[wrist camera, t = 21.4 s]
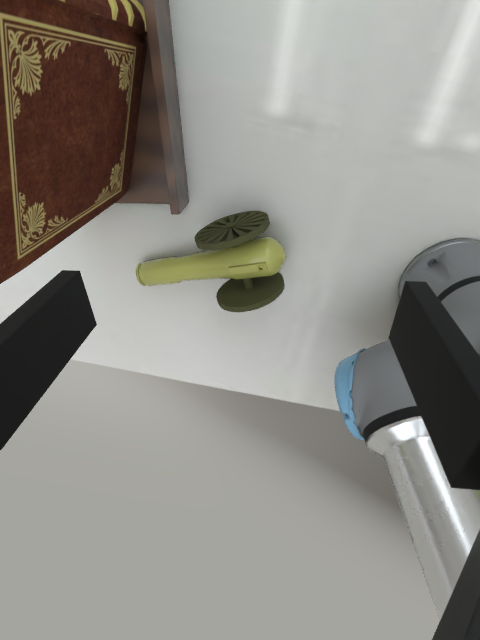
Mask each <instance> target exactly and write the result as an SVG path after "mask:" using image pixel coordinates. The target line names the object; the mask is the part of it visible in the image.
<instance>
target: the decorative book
mask: <svg viewBox="0 0 480 640" xmlns="http://www.w3.org/2000/svg"><path fill="white" fill-rule="evenodd" d="M146 34H147V28H146V20H145V13H144V7H143V6H142V5H141V3H140V2H138V1H137V0H0V284H1V283H2V282H4V281H6V280H7V279H9V278H10V277H12V276H13V275H15V274H16V273H18V272H20V271H21V270H23V269H24V268H25V267H27V266H28V265H30V264H31V263H32V262H34V261H35V260H37V259H38V258H39V257H41V256H42V255H43V254H45V253H46V252H48V251H49V250H50V249H52V248H53V247H55V246H56V245H57V244H59V243H60V242H61V241H63V240H64V239H66V238H67V237H68V236H70V235H71V234H72V233H74V232H75V231H77V230H78V229H79V228H81V227H82V226H84V225H85V224H86V223H88V222H89V221H90V220H92V219H93V218H95V217H96V216H97V215H99V214H100V213H101V212H103V211H104V210H106V209H107V208H108V207H110V206H111V205H113V204H114V203H115V202H117V201H118V200H119V199H120V198H122V197H123V196H124V195H125V194H126V193H127V192H128V188H129V183H130V177H131V171H132V164H133V156H134V148H135V139H136V131H137V123H138V114H139V106H140V98H141V89H142V81H143V72H144V64H145V56H146V47H147V44H146V42H145V40H144V37H145V35H146Z"/></svg>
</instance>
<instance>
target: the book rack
mask: <svg viewBox="0 0 480 640" xmlns="http://www.w3.org/2000/svg"><path fill="white" fill-rule="evenodd" d="M137 1H138V2H140V3H141V5H142V6H143V7H144V13H145V20H146V28H147V34H146V35H145V37H144V40H145V42H146V44H147V47H146V56H145V64H144V72H143V81H142V89H141V98H140V106H139V114H138V123H137V131H136V139H135V148H134V156H133V164H132V171H131V177H130V183H129V188H128V192H127V193H126V194H125V195H124V196H123V197H122V198H120V199H119V200H118V201H117V202H115V203H153V204H170V208H171V214H180V213H181V212H182V210H183V209H184V208H185V206H186V205H187V204H188V203H189V198H188V188H187V178H186V168H185V158H184V149H183V139H182V129H181V119H180V109H179V99H178V89H177V80H176V70H175V60H174V50H173V40H172V30H171V20H170V11H169V1H168V0H137Z"/></svg>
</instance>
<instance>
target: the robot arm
mask: <svg viewBox="0 0 480 640" xmlns="http://www.w3.org/2000/svg"><path fill="white" fill-rule="evenodd" d="M399 298H400V301H399V304H398V308H397V311H396V314H395V318H394V321H393V325H392V328H391V331H390V335H389V340H387V341H385V342H382V343H380V344H377V345H375V346H373V347H370V348H368V349H362V350H360V351H358V352H357V353H356V354H354V355H352V356H350V357H348V358H345V359H344V360H342V361H341V362H340V363H339V365H338V366H337V368H336V371H335V391H336V397H337V401H338V405H339V408H340V411H341V413H343V417H344V421H345V424H346V426H347V428H348V429H349V431H350V432H351V434H352V435H353V436H354V437H355V438H357V439H359V440H365V442H366V445H367V447H368V449H369V450H370V451H372V452H374V453H375V454H378V455H379V456H381V457H382V458H383V459H384V461H385V464H386V467H387V470H388V473H389V475H390V479H391V481H392V484H393V487H394V490H395V493H396V496H397V499H398V502H399V505H400V507H401V510H402V513H403V516H404V519H405V522H406V525H407V528H408V531H409V533H410V536H411V539H412V542H413V545H414V548H415V551H416V553H417V556H418V559H419V562H420V565H421V568H422V571H423V574H424V577H425V579H426V582H427V585H428V588H429V591H430V594H431V597H432V600H433V603H434V605H435V608H436V611H437V614H438V617H439V620H440V622H439V625H438V627H437V629H436V632H435V634H434V636H433V639H432V640H480V241H478V240H474V239H453V240H448V241H444V242H441V243H438V244H436V245H434V246H432V247H430V248H428V249H426V250H425V251H423V252H422V253H421V254H419V255H418V256H417V257H416V258H415V259H414V260H413V261H412V262H411V263H410V264H409V265H408V267H407V268H406V269H405V271H404V273H403V275H402V277H401V280H400V283H399ZM96 325H97V324H96V321H95V318H94V314H93V311H92V308H91V305H90V302H89V299H88V296H87V292H86V289H85V286H84V283H83V280H82V277H81V273H80V271H66V270H62V271H61V272H60V273H59V274H58V275H56V276H55V277H54V278H53V279H52V280H51V281H50V282H48V283H47V284H46V285H45V286H44V287H43V288H41V289H40V290H39V291H38V292H37V293H36V294H34V295H33V296H32V297H31V298H30V299H29V300H27V301H26V302H25V303H24V304H23V305H22V306H21V307H19V308H18V309H17V310H16V311H15V312H14V313H12V314H11V315H10V316H9V317H8V318H7V319H5V320H4V321H3V322H2V323H1V324H0V450H1V449H2V448H3V447H4V446H5V444H6V443H7V441H8V440H9V439H10V438H11V436H12V435H13V434H14V432H15V431H16V430H17V428H18V427H19V426H20V424H21V423H22V422H23V421H24V419H25V418H26V417H27V415H28V414H29V413H30V411H31V410H32V409H33V407H34V406H35V405H36V403H37V402H38V401H39V400H40V398H41V397H42V396H43V394H44V393H45V392H46V390H47V389H48V388H49V386H50V385H51V384H52V382H53V381H54V380H55V379H56V377H57V376H58V375H59V373H60V372H61V371H62V369H63V368H64V367H65V365H66V364H67V363H68V361H69V360H70V359H71V357H72V356H73V355H74V354H75V352H76V351H77V350H78V348H79V347H80V346H81V344H82V343H83V342H84V340H85V339H86V338H87V336H88V335H89V334H90V333H91V331H92V330H93V329H94V327H95V326H96Z"/></svg>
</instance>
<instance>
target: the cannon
mask: <svg viewBox="0 0 480 640" xmlns="http://www.w3.org/2000/svg"><path fill="white" fill-rule="evenodd" d="M269 224H270V222H269V218H268V215H267V214H266V213H264V212H261V211H249V212H242V213H238V214H234V215H230V216H227V217H224V218H221V219H219V220H217V221H215V222H213V223H210V224H209V225H207V226H205V227H204V228H202V229H201V230H200V231H199V232H198V233H197V234H196V235H195V242H196V245H197V247H198V248H200V249H203V250H208V251H204V252H200V253H195V254H191V255H187V256H183V257H168V258H162V259H156V260H149V261H144V262H142V263H140V264H138V266H137V268H136V276H137V279H138V281H139V283H140V284H141V285H143V286H156V285H164V284H172V283H179V282H181V281H184V280H204V279H223V278H231V279H230V280H228V281H227V282H226V283H224V284H223V285H222V286H221V287H220V289H219V290H218V292H217V296H216V297H217V301H218V304H219V305H220V307H221V308H223V309H224V310H227V311H231V312H245V311H251V310H255V309H258V308H260V307H263V306H265V305H267V304H269V303H270V302H272V301H274V300H275V299H276V298H277V297H278V296H279V295H280V294H281V293H282V291H283V289H284V280H283V277H282V275H281V274H280V273H279V271H280V269H281V268H282V266H283V264H284V261H285V259H286V252H285V249H284V248H283V247H282V246H281V244H280V243H279V242H278V241H277V240H276V239H274V238H271V237H263V238H257V239H253V238H255V237H257V236H258V235H260V234H261V233H263V232H264V231H265V230H266V229H267V228H268V226H269Z"/></svg>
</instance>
